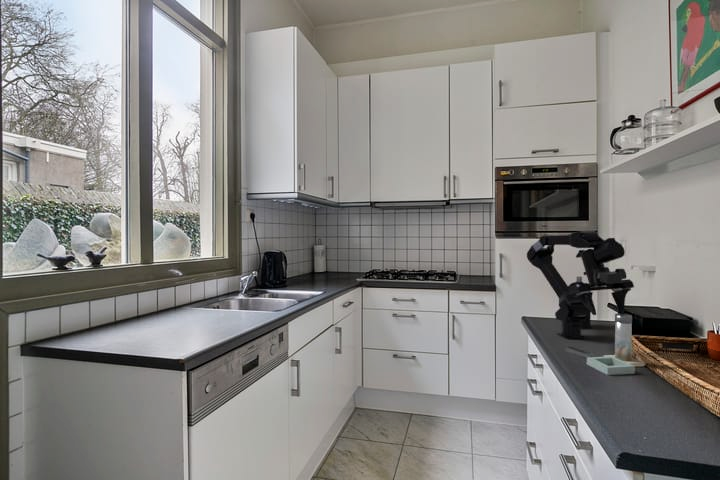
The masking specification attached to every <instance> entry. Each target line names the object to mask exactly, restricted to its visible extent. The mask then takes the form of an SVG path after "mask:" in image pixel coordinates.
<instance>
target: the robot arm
mask: <svg viewBox="0 0 720 480" xmlns="http://www.w3.org/2000/svg"><path fill="white" fill-rule="evenodd" d="M555 245H556V246H570V247H572V248H576V249H579V250H578V252H577V253H576V255H575V258H578V259H580V258H581V261H582V264H583V267H584V272H583V276H586V278H587V281H588V282H583V283H581V284H576V285H573V286H570V288H569V287H568V286H569V285H568V284H567V282H566V281H565V280H564V278H563V277H562V275H561V273H559V271H558V269H556V267H555V265H554V264H553V259H554V257H553V254H554V252H555ZM625 251H626V250H625V248H624V246H622V244H621V243H619V242H618V241H617V240H616V238H615V237H608V238H606V239H604V238H602V237H601V236H600V235H599V234H598V233H597V231H595V230H589V231H587V230H586V231H584V230H583V231H582V230H581V231H575V232H572V233H570V234H565V235H563V234H559V235H554V234H546V235H545V234H543V235H540V238H539V239H538V240H537V241H536V242H535V243H533V244H532V245H531V246H530V248H529V249H528V251H527V252H526V259H527V260H528V262H529V263H530V264H531V265H532V266H533V267H535V268H537V269H539V270H540V272H541V273H542V274H543V276H544V278H545V279H546V281H547V282H548V284H549V285H550V287H551V288H552V290H553V292H554V293H555V294H556V296H557V298H558V307H559V309H557V310H556V312H555V313H554V316H555V319H556V320H559V321H560V332H556V334H557V336H560V337H562V338H565V339H566V340H574V339H575V340H577V339H579V340H580V339H585V336H583V335H582V329H581V326H580V320H586V316H587V314H588V310H589V311H590V312H591V314H592V316H596V315H597V311H596V307H595V303H594V300H593V293H594V292H593V291H605V290H610V291H611V293H610V294H611V297H612V298H613V301H614V303H615V304H616V307H617V309H618V311H619V312H620V313H621V314H624V311H625V304H626V298H627V297H626V296H627V294H628V293H629V292H631V291H632V289H633V288H635V285H634V283H633V281H632V280H631V279H630V278H629V279H627V272H626V270H625V268H615V269H614V270H613V271H610V268H609V267H608V266H605V264H606V263H610V262H613V261H615V260H619V259H621V258H623V257H624V255H625ZM589 291H591V292H589Z"/></svg>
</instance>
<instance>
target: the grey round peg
mask: <svg viewBox="0 0 720 480" xmlns="http://www.w3.org/2000/svg"><path fill="white" fill-rule="evenodd" d="M632 323H633V315H632V314H628V313H621V312H620V313H614V355H615V358H618V359H620V360H622V361H631V357H632V347H633V345H632V342H633V341H632V340H633V339H632V338H633V337H632V332H633V331H632V330H633V329H632V326H633V324H632Z"/></svg>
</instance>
